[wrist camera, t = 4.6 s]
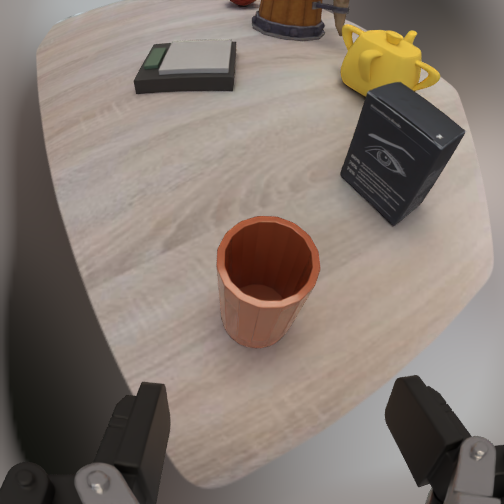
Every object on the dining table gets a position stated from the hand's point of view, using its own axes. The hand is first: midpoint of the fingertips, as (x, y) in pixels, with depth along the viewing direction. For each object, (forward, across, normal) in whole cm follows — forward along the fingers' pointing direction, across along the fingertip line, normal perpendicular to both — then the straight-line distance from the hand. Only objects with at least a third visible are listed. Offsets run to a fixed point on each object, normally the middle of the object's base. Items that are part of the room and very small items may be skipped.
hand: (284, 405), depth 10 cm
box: (+23, -13, -6) cm, 27 cm away
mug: (+52, -9, -35) cm, 63 cm away
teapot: (+38, -19, -20) cm, 47 cm away
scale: (+38, +9, -21) cm, 45 cm away
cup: (+14, 0, +4) cm, 14 cm away
